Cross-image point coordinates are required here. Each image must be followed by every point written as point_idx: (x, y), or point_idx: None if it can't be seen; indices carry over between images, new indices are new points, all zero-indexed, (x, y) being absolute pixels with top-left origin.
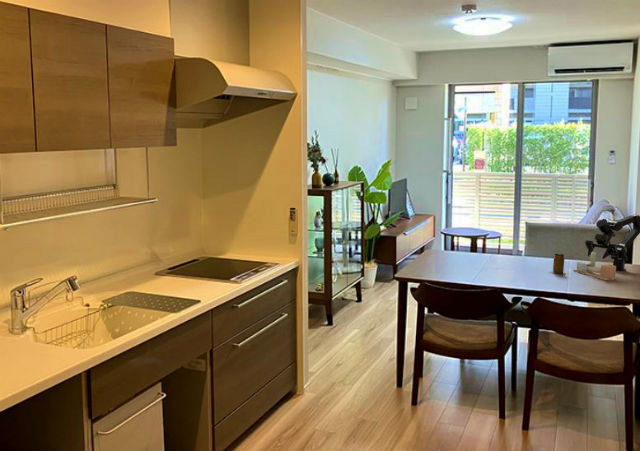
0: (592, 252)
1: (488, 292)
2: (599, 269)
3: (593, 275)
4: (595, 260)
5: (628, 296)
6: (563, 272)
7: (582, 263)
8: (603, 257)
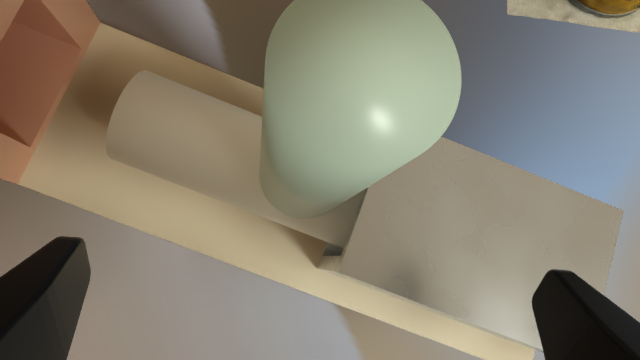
0: (411, 60)
1: None
2: (133, 87)
3: (218, 72)
4: (261, 153)
5: None
6: (572, 17)
7: (497, 160)
8: (43, 253)
